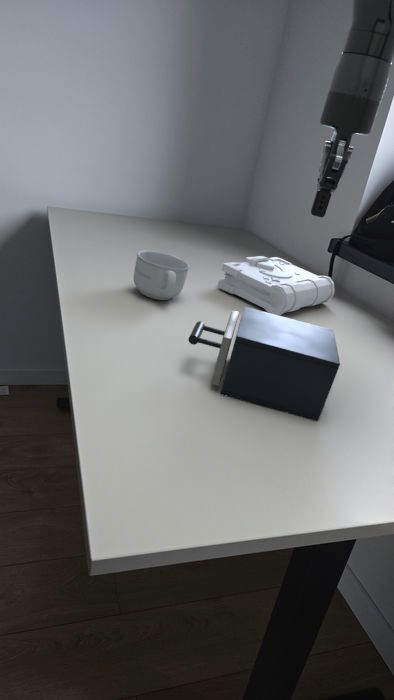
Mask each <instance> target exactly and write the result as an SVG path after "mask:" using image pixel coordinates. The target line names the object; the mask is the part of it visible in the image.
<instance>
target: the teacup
mask: <svg viewBox="0 0 394 700" xmlns="http://www.w3.org/2000/svg"><path fill="white" fill-rule="evenodd" d="M190 266H191V265H190V264H189V263H188V262H187V261H186V260H184V259H182V258H180V257H178V256H176V255H172V254H170V253H165V252H162V251H157V250H139V251H138V252H137V253H136V261H135V265H134V270H133V283H134V285H135V287H136V288H137V289H138V291H139V292H140V293H141V295H143V296H145V297H147V298H150V299H153V300H159V301H168V300H172V299H174V298H175V297H177V296H179V295H180V294H181V292H182V291H183V289H184V286H185V282H186V280H187V276H188V272H189V269H190Z"/></svg>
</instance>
